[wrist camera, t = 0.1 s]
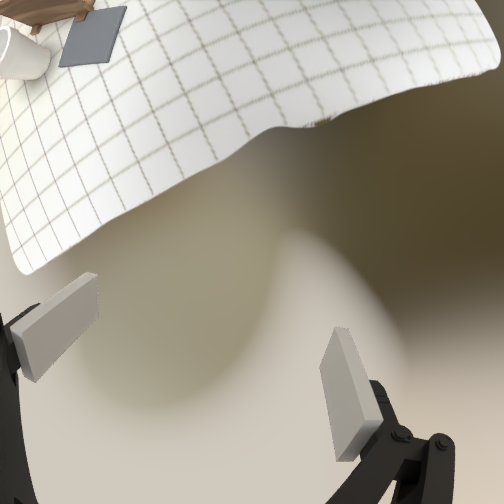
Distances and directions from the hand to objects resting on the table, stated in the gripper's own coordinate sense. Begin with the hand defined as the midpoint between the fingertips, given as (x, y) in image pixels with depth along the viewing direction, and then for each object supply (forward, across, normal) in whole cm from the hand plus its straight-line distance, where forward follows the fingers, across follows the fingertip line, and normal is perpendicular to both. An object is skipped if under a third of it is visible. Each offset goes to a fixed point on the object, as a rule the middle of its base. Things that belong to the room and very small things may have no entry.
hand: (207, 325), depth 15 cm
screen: (+28, -42, +33) cm, 61 cm away
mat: (+28, -32, +27) cm, 51 cm away
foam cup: (+28, -44, +23) cm, 57 cm away
